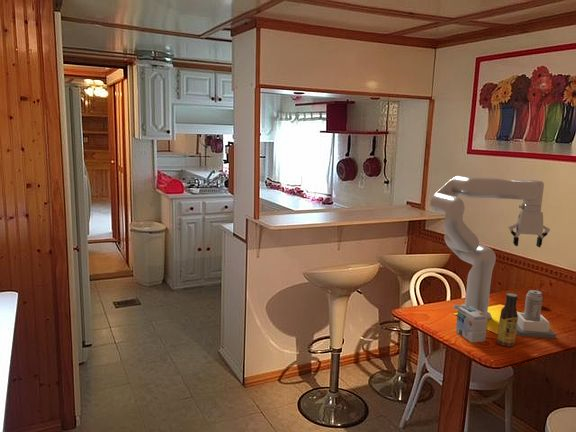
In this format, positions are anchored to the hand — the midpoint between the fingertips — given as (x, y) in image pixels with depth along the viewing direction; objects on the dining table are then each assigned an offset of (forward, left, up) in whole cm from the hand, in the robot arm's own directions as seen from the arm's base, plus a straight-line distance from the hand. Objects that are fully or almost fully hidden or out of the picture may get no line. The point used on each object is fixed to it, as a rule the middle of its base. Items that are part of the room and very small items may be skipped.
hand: (527, 246), depth 224 cm
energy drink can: (-3, -23, -29) cm, 37 cm away
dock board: (-3, -23, -30) cm, 38 cm away
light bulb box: (-30, -34, -31) cm, 55 cm away
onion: (+10, +8, -31) cm, 33 cm away
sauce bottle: (-18, -39, -31) cm, 53 cm away
